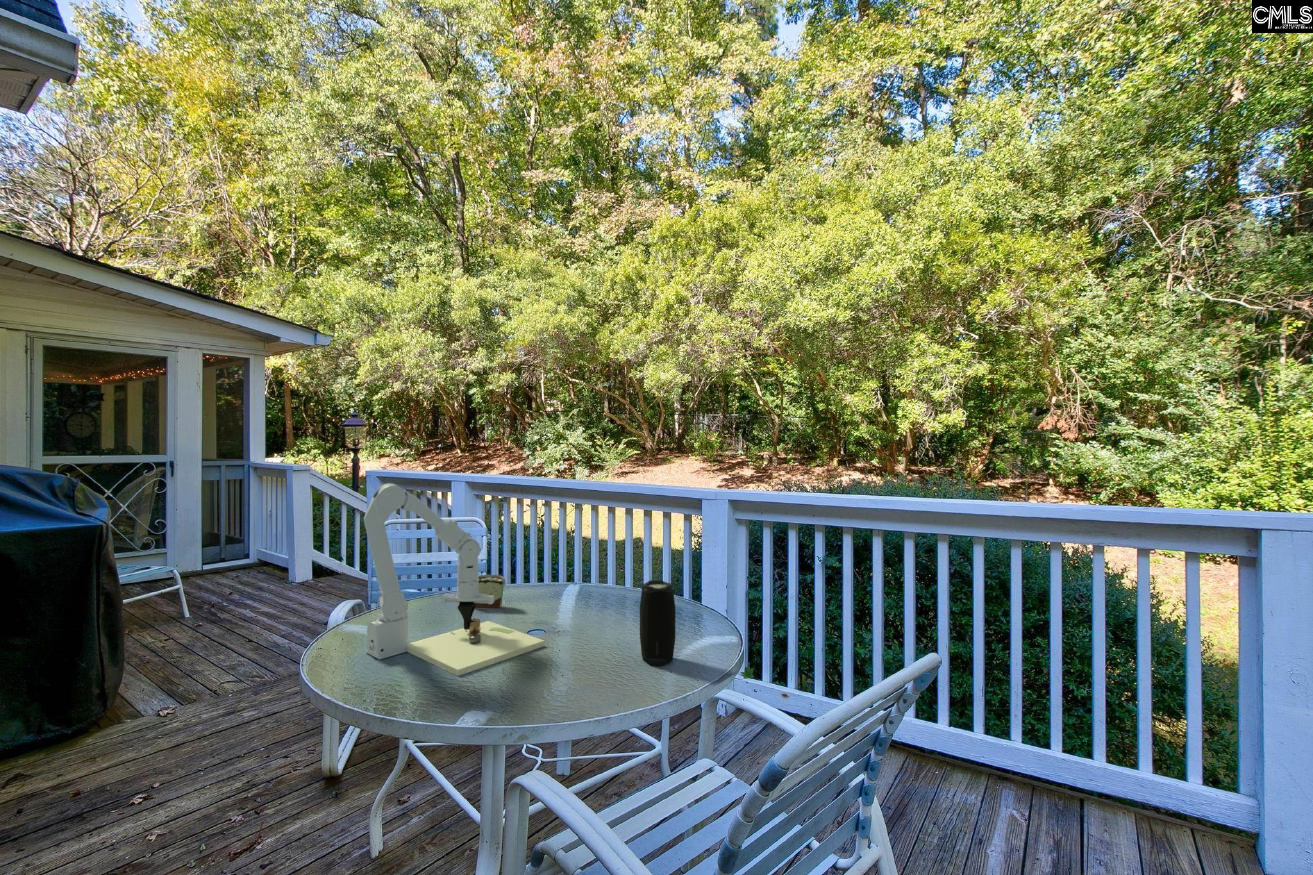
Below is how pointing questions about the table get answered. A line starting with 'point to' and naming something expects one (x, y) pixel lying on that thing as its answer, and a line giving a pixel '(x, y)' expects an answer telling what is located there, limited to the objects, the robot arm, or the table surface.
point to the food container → (491, 590)
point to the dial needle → (474, 631)
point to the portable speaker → (657, 622)
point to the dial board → (473, 648)
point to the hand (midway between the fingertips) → (467, 628)
